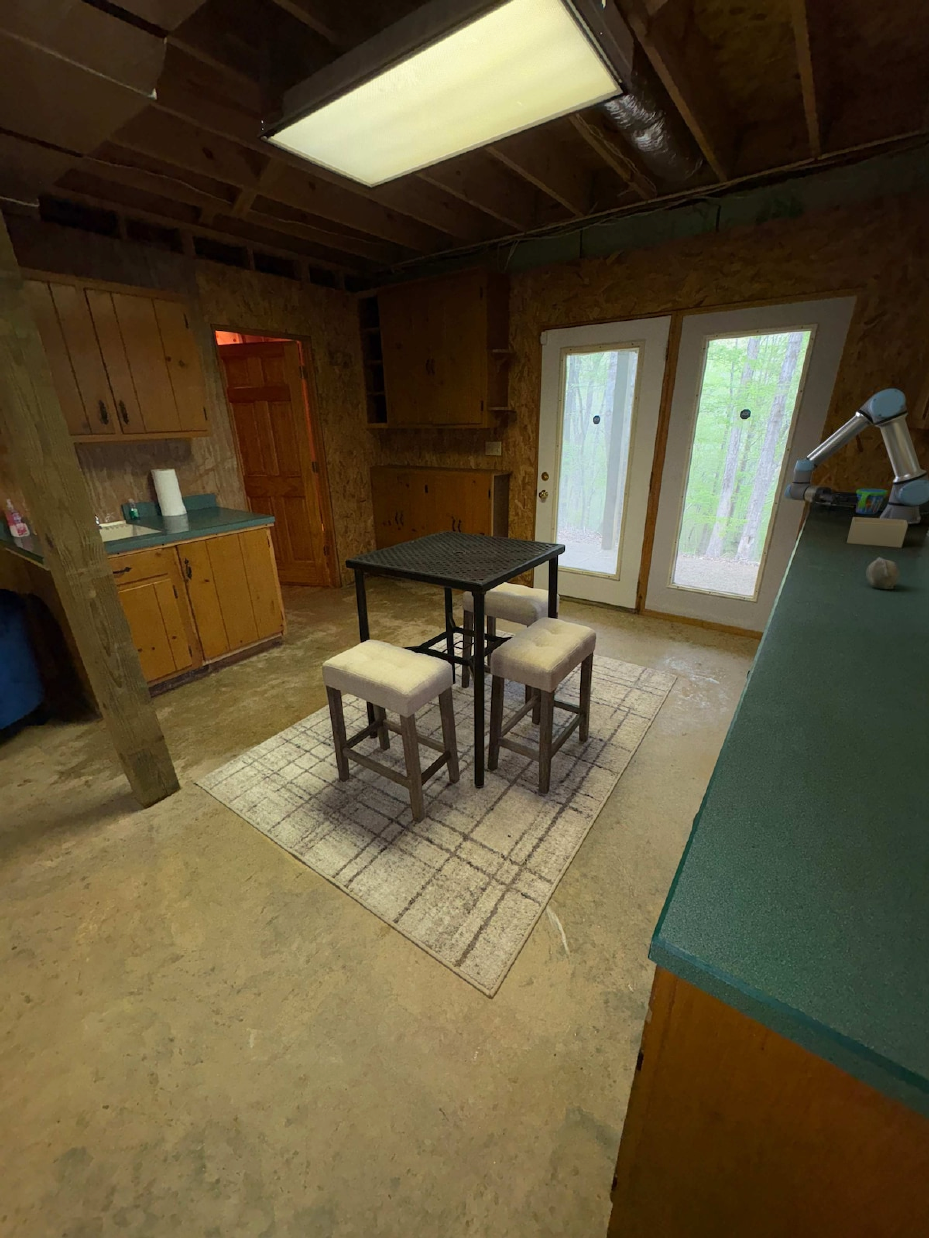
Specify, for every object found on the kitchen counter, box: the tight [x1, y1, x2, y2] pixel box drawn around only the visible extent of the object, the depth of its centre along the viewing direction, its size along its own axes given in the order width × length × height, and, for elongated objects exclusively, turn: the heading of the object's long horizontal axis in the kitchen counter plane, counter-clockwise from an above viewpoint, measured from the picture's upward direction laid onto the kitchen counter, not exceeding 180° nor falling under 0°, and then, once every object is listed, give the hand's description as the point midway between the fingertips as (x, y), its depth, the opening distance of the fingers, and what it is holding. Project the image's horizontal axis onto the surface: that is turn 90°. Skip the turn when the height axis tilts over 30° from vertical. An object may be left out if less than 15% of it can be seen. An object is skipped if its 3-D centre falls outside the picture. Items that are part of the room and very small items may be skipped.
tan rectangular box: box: [846, 516, 909, 548], centre depth 202 cm, size 13×18×9 cm
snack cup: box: [855, 488, 888, 515], centre depth 215 cm, size 16×10×10 cm
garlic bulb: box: [865, 557, 900, 590], centre depth 150 cm, size 9×8×10 cm
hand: (866, 498), depth 217 cm, fingers closed on snack cup, 13 cm apart
